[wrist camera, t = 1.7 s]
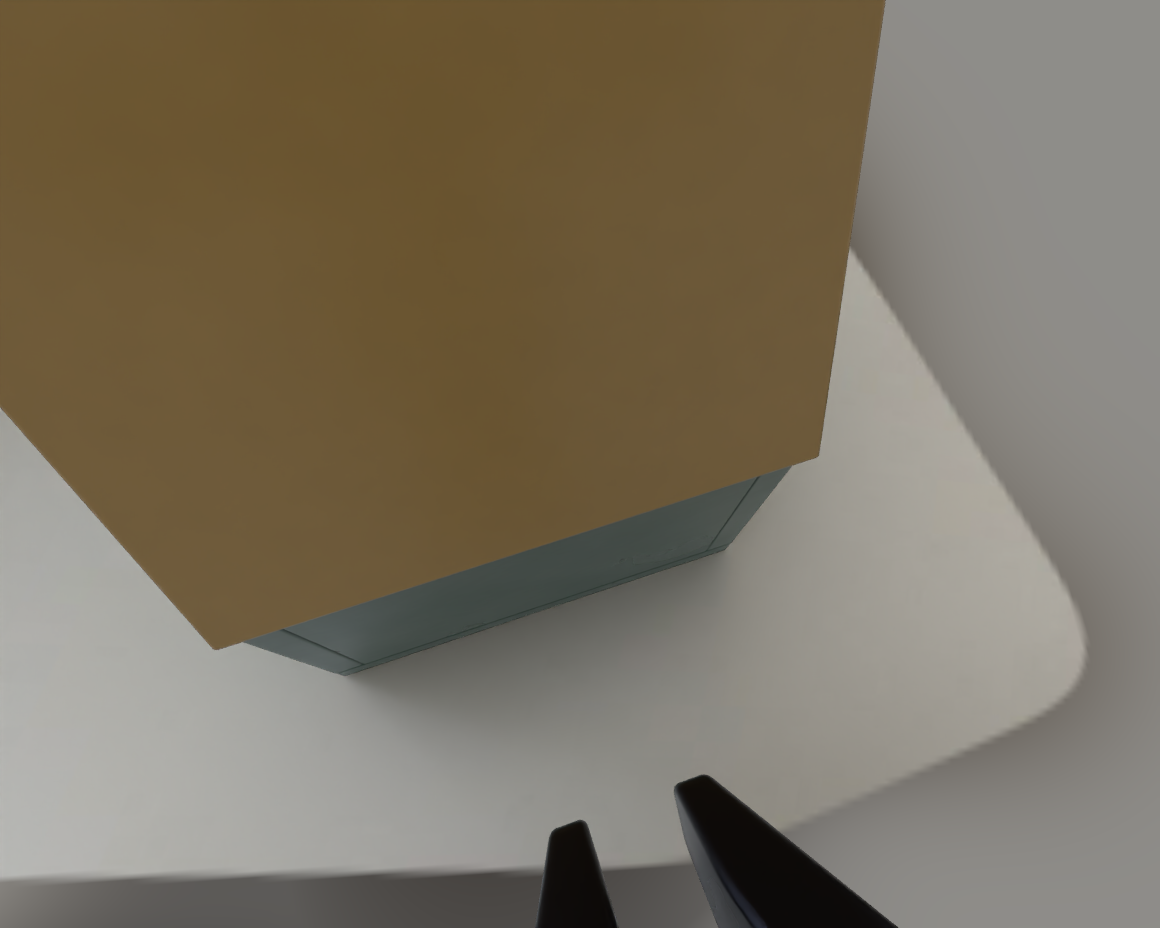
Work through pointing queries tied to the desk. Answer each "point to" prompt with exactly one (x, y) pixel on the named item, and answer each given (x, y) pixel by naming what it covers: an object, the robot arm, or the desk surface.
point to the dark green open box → (522, 582)
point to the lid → (416, 272)
